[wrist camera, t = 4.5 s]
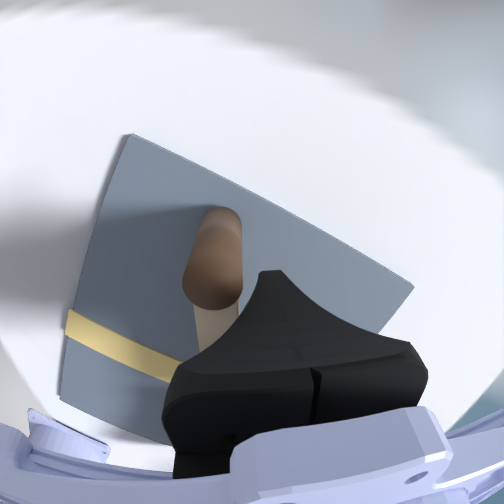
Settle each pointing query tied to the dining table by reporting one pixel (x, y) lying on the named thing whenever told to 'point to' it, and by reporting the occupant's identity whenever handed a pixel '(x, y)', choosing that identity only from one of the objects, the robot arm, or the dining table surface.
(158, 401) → the card
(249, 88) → the dining table surface
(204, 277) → the panel
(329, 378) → the robot arm
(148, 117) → the dining table surface
